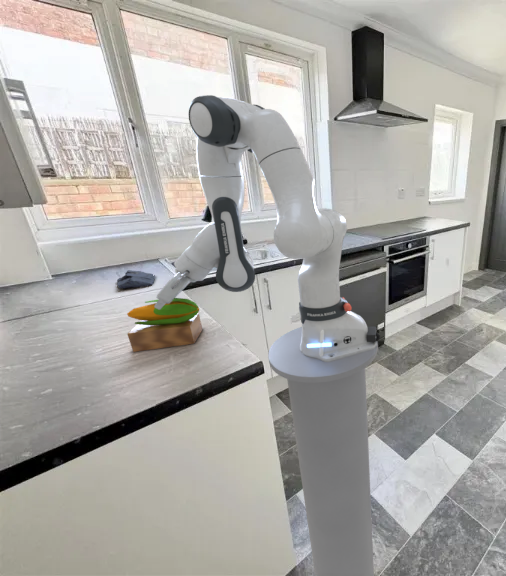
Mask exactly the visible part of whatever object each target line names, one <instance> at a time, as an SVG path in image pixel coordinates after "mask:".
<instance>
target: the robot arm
mask: <svg viewBox="0 0 506 576" xmlns="http://www.w3.org/2000/svg"><path fill="white" fill-rule="evenodd" d="M188 121H189V124H190V127H191V130H192V132H193V134H195V136H196V146H195V147H196V149H195V151H196V163H197V164H196V165H197V170H198V171H197V172H198V176H199V177H198V178H199V181H200V185H201V188H202V192H203V195H204V198H205V200H206V203H207V206H208V208H209V211H210V214H211V218H212V220H213V221H212V222H210V223H208V224H207V225H205V226H204V227H203V228H202V229H201V230H200V231H199V232H198V233H197V235H195V237H194V238H193V240H192V242H191V244H190V245H189V246H187V247H186V248H185V249H184V250H183V252H182V253H181V254H180V255H179V256H178V257H177V259H176V260H175V261H174V262H173V265H174V267H175V269H174V272H175V275H174V276H172V277H170V279H169V280H168V281H167V282H166V284H164V286H163V287H162V288H161V289H160V290H159V292H158V293H157V294H156V299H157V300H158V299H159V300H158V302H155V303H156V304H155V306H154V307H155V308H157V309H158V310H160V309H161V308H162V307H163V306H164V305H165V304H169V303H170V302H171V301H172V300H173V299H174V298H177V296H179V295H180V293H181V292H182V291H183V290H184V289H185V288H187V286H188V285H189V284H190V283H196V282H202V281H204V280H205V278H206V277H208V275H209V274H210V272H212V270H213V269H214V268H216V271H215V280H216V282H217V284H218V285H219V286H220V288H222V289H224V290H225V291H227V292H231V293H241V292H244V291H246V290H249V289H250V288H251V287H252V286H253V284H254V283H255V280H256V272H255V267H254V266H255V265H254V259H253V256H252V254H251V252H250V251H249V250H248V249H247V248H246V247H245V246H244V240H243V232H242V215H243V214H242V213H243V208H244V202H245V191H246V190H245V189H246V187H245V186H246V185H245V177H244V171H243V165H242V164H243V163H242V158H243V154H245V152H246V151H247V152H248V153H251V154H253V155H254V157H255V159H256V161H257V163H258V166H259V168H260V171H261V172H262V175H263V177H264V179H265V181H266V183H267V186H268V188H269V190H270V193H271V196H272V198H273V201H274V206H275V213H276V225H275V227H274V230H273V241H274V244H275V247H276V248H277V250H278V252H279V253H281V255H283V256H284V257H286V258H288V259H291V260H302V263H301V267H300V269H299V271H298V274H297V285H298V286H297V287H298V293H299V294H298V295H299V302H298V314H299V319H300V322H301V327H302V337H301V344H300V351H301V352H302V353H303V354H304V355H306V356H309V357H313V358H318V359H320V360H322V361H324V362H330V361H334V360H337V359H341V358H345V357H348V356H352V355H355V354H359V353H362V352H366V351H370V350H373V349H375V348H376V345H377V341H379V340H380V338H381V335H380V334H379V333H378V332H377V326H368V325H367V323H366V321H365V319H364V318H363V317H362V316H361V315H360V314H357V313H356V312H354V311H352V305H351V303H349V302H348V300H347V299H346V298H345V297H344V296H342V297H341V289H340V287H341V286H340V266H341V259H342V250H343V244H344V243H343V242H344V240H345V237H346V235H347V231H348V223H347V221H346V218H345V217H344V215H343V214H342V213H340V212H339V211H337V210H335V209H331V208H327V207H320V208H317V205H316V204H317V203H316V199H315V195H314V193H315V192H314V187H315V185H316V184H315V177H314V174H313V173H312V170H311V168H310V166H309V164H308V161H307V159H306V157H305V155H304V154H305V153H304V152H303V150H302V148H301V145H300V144H299V142H298V139H297V137H296V135H295V134H294V132H293V130H292V129H291V127H290V125H289V124H288V122H287V120H286V119H285V118H284V116H283V115H282V114H281V113H280V112H279V111H277V110H275V109H271V108H265V107H262V106H260V105H258V104H255V103H254V104H252V103H250V102H247V101H243V100H240V99H237V98H232V97H224V96H223V97H222V96H216V95H212V94H206V95H205V94H204V95H199V96H196V97H194V99H192V100H191V102H190V104H189V107H188Z"/></svg>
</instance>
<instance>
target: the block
mask: <svg viewBox="0 0 506 576" xmlns="http://www.w3.org/2000/svg"><path fill="white" fill-rule="evenodd" d="M142 321H144V320H139V322H142ZM202 331H203V326H202V321H201V316H200V313H199V312H198V314H197V315H196V316H195V317H194V318H192V319H190V320H188V321H186V322H184V323H176V324H166V325H140V324H135V325H134V327H132V328H131V330H129V331H128V333H126V335H127V337H128V340H129V344H130V347H131V349H132V353H136V352H143V351H150V350H157V349H164V348H165V349H166V348H172V347H179V346H186V345H193V344H195V343H196V342H197V340H198V338H199V336H200V335H201V333H202Z"/></svg>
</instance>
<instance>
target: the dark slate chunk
mask: <svg viewBox="0 0 506 576" xmlns="http://www.w3.org/2000/svg"><path fill="white" fill-rule="evenodd" d="M153 274H154V273H149V272H145V271H141V270H130V269H129V270H126V272H125V274H124V275H123V276H122V277H119V278H117V279H116V282H117V283H116V285H117V287H118V288H120V289H132V288H133V289H134V288H140V287H149V286H152V285H153V284H154V282H155V280H156V276H155V274H154V276H153Z"/></svg>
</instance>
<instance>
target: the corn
mask: <svg viewBox="0 0 506 576" xmlns="http://www.w3.org/2000/svg"><path fill="white" fill-rule="evenodd" d="M158 300H159V299H158V298H157V299H152V300H147V301H144V303H145V304H146V305H142V306H139V307H134V308H132V309H131V310H130V311H129V312H127V313H126V315H127V317H129V318H130V319H131V318H132V319H134V320H138V321H136V322H134V325H137V324H140V325H166V324H176V323H184V322H186V321H188V320H190V319H192V318H194V317H195V316H196V315H197V314H198V313H199V312H200V308H199V305H198V304H197V303H196V302H195V301H193V300H191V299H189V298H181V297H175V298H174V299H173V300H172V301H171V302H170V303H169V304H165V305H164V306H163V307H162V308H161V309H160V310H158V309H157V308H155V307H154V306H155V304H156V303H157V302H158ZM148 303H151V304H148ZM141 320H144V321H142V322H140V321H141Z"/></svg>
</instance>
